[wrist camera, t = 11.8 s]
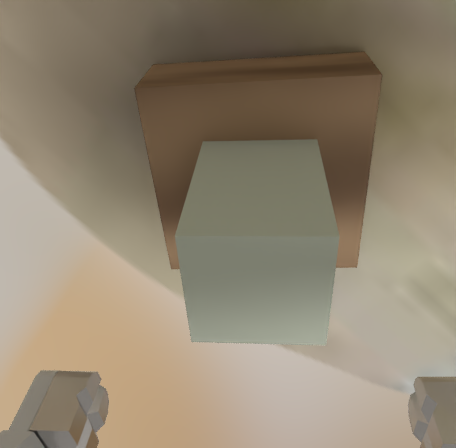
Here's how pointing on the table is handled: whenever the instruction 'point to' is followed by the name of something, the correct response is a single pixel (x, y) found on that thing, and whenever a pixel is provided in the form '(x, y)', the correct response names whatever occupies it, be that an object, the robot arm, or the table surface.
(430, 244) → the table surface
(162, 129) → the walnut block
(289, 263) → the sage block
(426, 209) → the table surface
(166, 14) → the table surface
